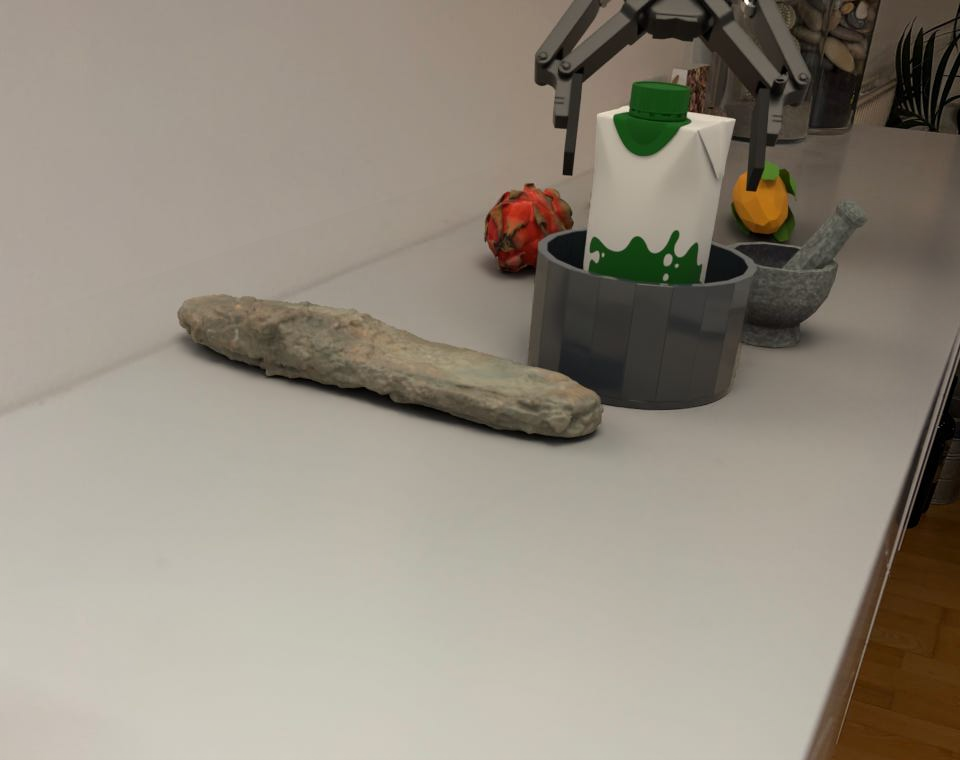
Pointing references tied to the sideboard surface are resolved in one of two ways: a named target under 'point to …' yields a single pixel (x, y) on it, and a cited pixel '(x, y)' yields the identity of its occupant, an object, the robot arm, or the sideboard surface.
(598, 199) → the milk carton
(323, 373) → the long grey stone
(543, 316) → the pot
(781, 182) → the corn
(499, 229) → the dragon fruit
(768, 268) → the mortar and pestle
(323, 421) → the sideboard surface
